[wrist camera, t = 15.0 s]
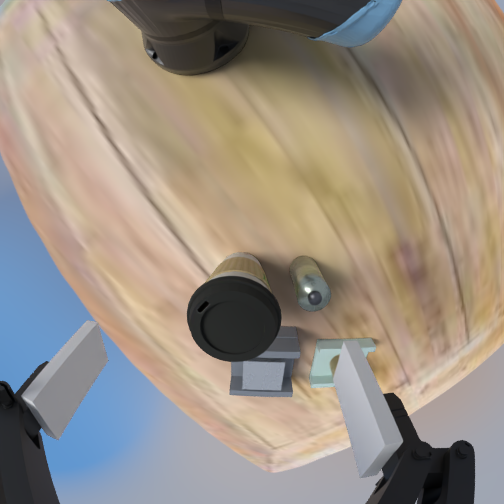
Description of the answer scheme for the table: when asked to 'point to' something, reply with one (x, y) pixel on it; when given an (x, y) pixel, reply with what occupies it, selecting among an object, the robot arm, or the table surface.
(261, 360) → the plate
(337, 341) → the trough
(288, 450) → the table surface
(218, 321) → the coffee cup
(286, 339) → the cradle
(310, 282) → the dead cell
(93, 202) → the table surface
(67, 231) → the table surface
